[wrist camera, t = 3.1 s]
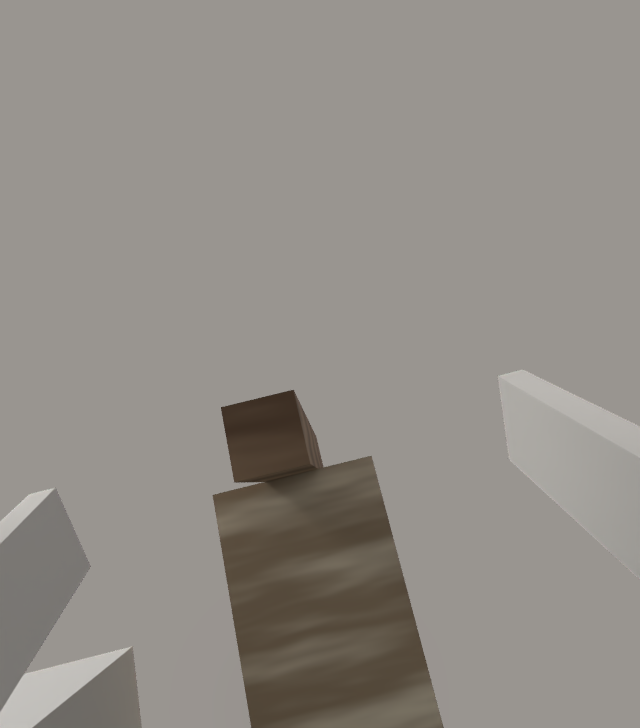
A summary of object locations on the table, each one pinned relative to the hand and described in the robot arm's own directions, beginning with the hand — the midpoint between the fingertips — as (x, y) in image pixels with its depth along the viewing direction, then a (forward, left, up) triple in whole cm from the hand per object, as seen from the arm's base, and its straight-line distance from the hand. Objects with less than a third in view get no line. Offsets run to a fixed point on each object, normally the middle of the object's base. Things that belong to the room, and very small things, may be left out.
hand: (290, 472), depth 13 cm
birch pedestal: (-6, +25, -29) cm, 39 cm away
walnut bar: (-6, +22, +1) cm, 23 cm away
